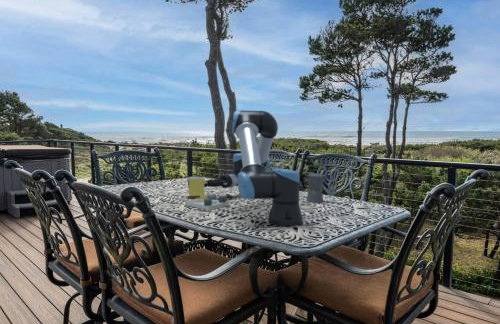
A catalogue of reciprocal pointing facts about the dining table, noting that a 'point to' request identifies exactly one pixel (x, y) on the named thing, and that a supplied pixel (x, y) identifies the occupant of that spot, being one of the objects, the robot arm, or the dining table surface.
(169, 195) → the dining table surface
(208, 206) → the base
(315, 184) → the coffeepot
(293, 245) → the dining table surface
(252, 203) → the dining table surface
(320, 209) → the dining table surface
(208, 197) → the yellow flat slab
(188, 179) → the disposable coffee cup
